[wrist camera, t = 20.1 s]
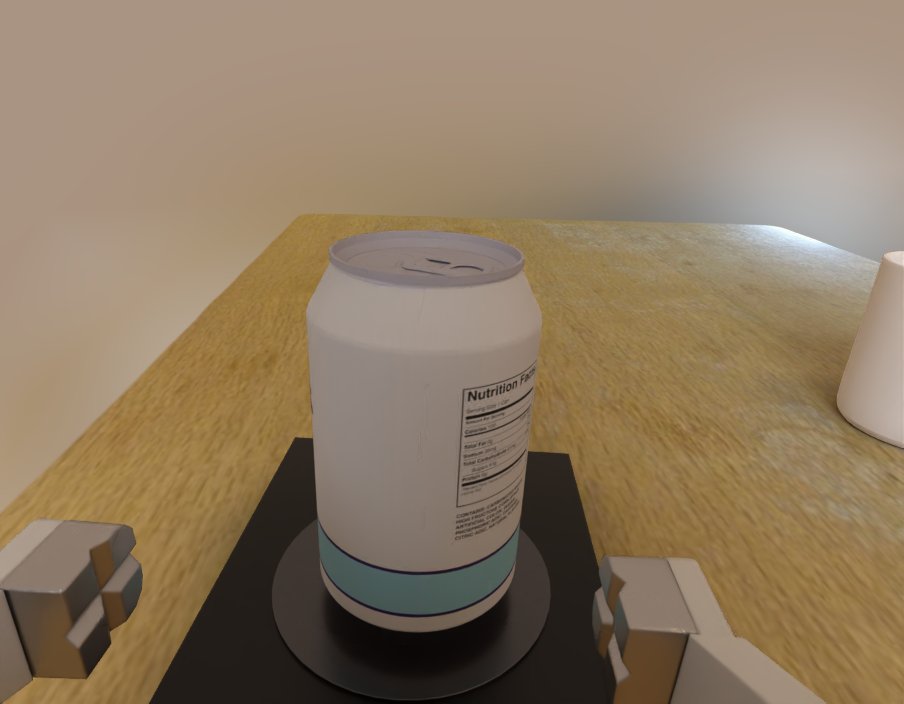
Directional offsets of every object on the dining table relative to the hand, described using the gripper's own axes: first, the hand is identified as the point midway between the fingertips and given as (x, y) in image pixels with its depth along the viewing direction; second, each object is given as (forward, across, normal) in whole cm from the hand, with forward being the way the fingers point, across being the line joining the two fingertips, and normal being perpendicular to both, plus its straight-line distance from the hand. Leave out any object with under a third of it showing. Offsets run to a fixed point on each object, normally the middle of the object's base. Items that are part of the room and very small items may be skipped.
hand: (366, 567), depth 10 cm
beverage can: (+9, 0, +9) cm, 12 cm away
